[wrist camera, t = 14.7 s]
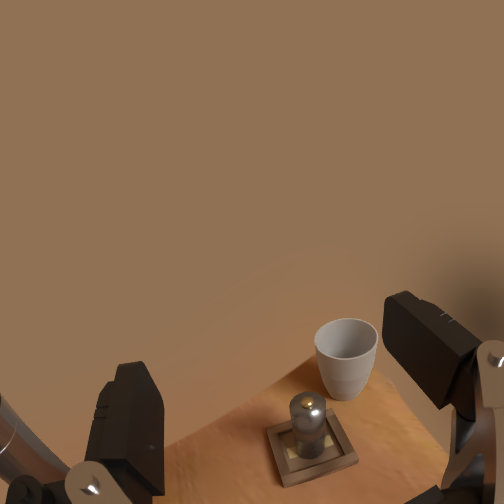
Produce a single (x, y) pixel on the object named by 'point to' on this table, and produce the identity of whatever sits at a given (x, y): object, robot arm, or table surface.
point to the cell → (308, 424)
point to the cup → (345, 356)
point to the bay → (305, 470)
